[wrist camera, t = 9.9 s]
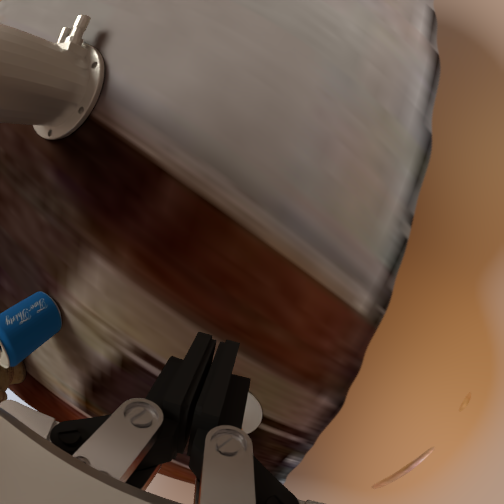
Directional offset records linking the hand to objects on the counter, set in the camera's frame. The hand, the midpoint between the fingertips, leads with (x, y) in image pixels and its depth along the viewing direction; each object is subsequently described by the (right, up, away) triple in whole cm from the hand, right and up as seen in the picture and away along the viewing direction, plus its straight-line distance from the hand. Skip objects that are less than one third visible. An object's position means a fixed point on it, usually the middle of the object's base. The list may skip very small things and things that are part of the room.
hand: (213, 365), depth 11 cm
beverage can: (-28, -4, +22) cm, 36 cm away
